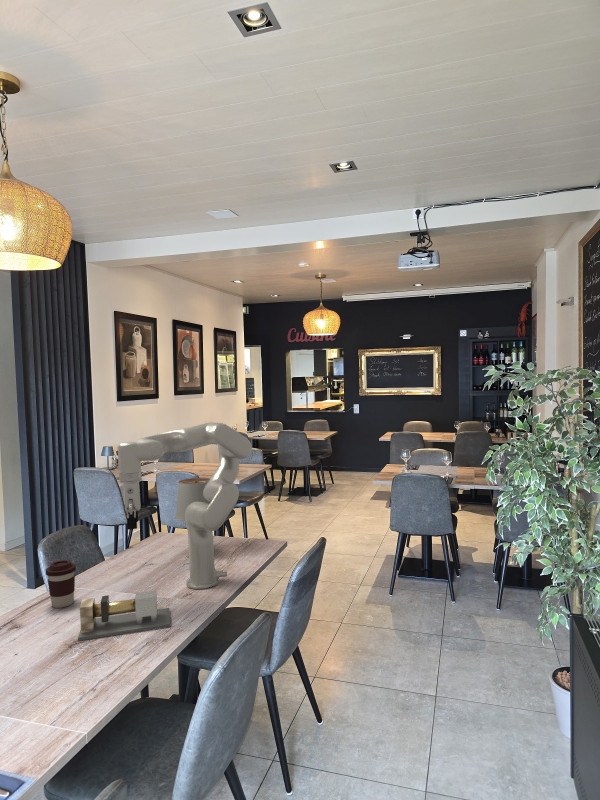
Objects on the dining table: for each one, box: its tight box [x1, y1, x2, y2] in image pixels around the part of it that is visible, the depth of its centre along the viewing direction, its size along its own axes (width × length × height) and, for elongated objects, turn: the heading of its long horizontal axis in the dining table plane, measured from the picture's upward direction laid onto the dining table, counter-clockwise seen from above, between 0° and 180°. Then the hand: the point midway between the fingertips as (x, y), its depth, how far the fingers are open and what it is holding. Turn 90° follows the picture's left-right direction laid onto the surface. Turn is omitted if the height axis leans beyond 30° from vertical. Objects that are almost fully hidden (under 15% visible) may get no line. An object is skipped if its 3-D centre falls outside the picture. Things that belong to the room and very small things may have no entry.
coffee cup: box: [45, 559, 77, 609], centre depth 193 cm, size 10×10×15 cm
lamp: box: [174, 477, 211, 522], centre depth 242 cm, size 19×19×34 cm
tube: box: [93, 595, 136, 623], centre depth 173 cm, size 18×5×6 cm, turn 105°
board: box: [77, 607, 171, 642], centre depth 174 cm, size 28×13×1 cm, turn 105°
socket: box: [79, 597, 97, 633], centre depth 170 cm, size 4×7×8 cm, turn 15°
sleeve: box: [134, 589, 158, 624], centre depth 175 cm, size 6×6×8 cm
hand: (133, 525), depth 189 cm, fingers open, 9 cm apart
